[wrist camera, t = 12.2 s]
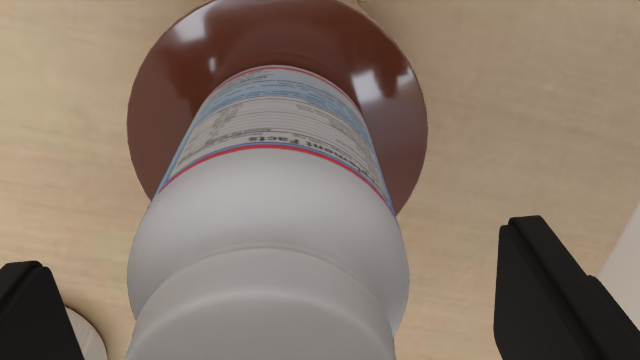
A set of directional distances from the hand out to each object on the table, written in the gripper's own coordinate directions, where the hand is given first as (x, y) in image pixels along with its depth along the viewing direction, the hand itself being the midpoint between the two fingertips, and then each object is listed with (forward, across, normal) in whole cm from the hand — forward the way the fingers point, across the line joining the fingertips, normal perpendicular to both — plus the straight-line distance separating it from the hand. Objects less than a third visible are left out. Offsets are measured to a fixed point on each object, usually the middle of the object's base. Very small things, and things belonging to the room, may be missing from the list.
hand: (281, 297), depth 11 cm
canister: (+15, +1, 0) cm, 15 cm away
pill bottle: (+9, 0, 0) cm, 9 cm away
